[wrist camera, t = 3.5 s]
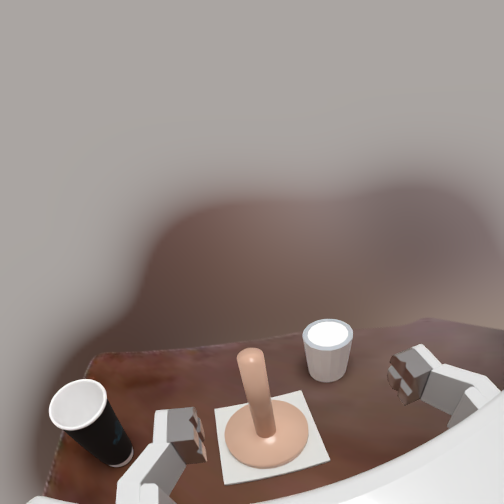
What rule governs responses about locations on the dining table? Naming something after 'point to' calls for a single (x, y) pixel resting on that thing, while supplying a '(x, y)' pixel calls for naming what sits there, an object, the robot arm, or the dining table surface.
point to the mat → (308, 458)
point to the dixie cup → (91, 421)
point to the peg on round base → (264, 420)
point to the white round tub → (327, 348)
